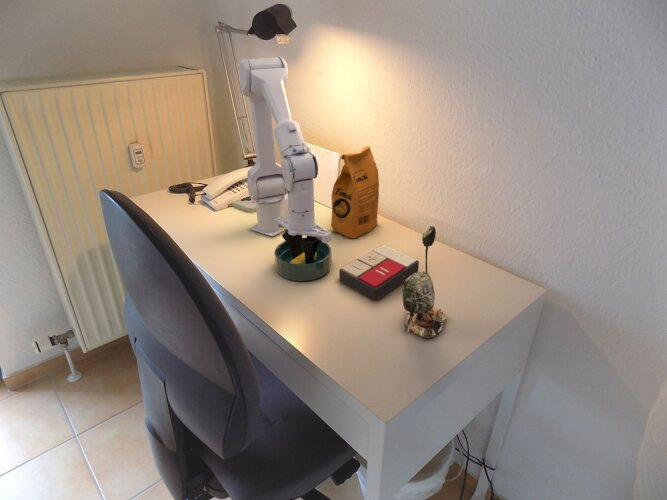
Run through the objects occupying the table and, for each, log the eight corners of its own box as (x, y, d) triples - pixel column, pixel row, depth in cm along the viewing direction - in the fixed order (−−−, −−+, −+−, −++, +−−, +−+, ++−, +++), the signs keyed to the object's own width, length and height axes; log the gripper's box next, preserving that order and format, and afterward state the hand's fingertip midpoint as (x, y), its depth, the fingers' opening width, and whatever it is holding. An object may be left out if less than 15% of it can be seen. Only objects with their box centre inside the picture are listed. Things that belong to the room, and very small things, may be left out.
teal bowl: (299, 248, 110) (298, 232, 108) (341, 263, 104) (341, 246, 102) (264, 270, 101) (263, 254, 99) (308, 288, 94) (308, 271, 92)
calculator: (338, 267, 95) (382, 241, 104) (338, 282, 97) (382, 256, 106) (375, 287, 88) (420, 258, 97) (375, 304, 91) (418, 273, 99)
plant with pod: (385, 326, 83) (392, 234, 74) (425, 304, 89) (436, 216, 80) (416, 349, 78) (428, 253, 68) (456, 324, 84) (473, 232, 74)
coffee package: (325, 230, 119) (324, 151, 108) (355, 216, 127) (357, 141, 116) (353, 241, 113) (355, 160, 102) (382, 226, 121) (386, 149, 110)
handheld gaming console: (229, 200, 133) (264, 186, 144) (230, 205, 134) (265, 190, 144) (251, 208, 128) (286, 193, 138) (251, 213, 129) (286, 198, 139)
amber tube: (310, 256, 106) (309, 245, 105) (319, 259, 104) (319, 248, 103) (284, 273, 99) (283, 262, 98) (294, 277, 98) (294, 266, 96)
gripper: (264, 206, 95) (268, 258, 102) (316, 222, 88) (318, 277, 95) (284, 196, 101) (288, 247, 107) (336, 210, 93) (336, 264, 100)
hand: (303, 260), depth 101 cm, fingers open, 3 cm apart
